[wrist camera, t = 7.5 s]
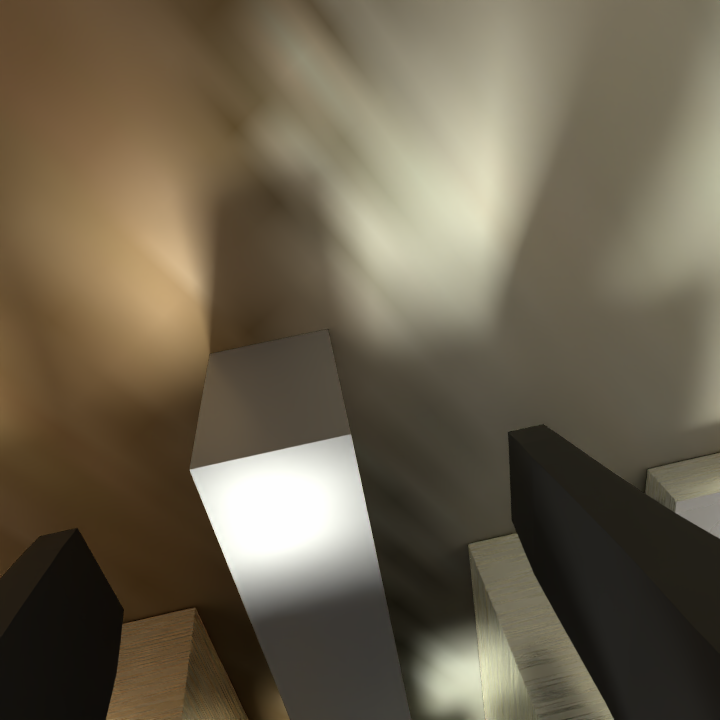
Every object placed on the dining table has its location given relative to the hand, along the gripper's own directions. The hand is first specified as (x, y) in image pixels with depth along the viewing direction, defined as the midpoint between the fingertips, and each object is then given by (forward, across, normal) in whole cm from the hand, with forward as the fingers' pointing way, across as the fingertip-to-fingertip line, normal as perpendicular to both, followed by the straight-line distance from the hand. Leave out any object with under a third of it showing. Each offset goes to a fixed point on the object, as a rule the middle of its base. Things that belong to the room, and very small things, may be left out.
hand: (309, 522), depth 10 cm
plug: (+2, 0, +14) cm, 14 cm away
